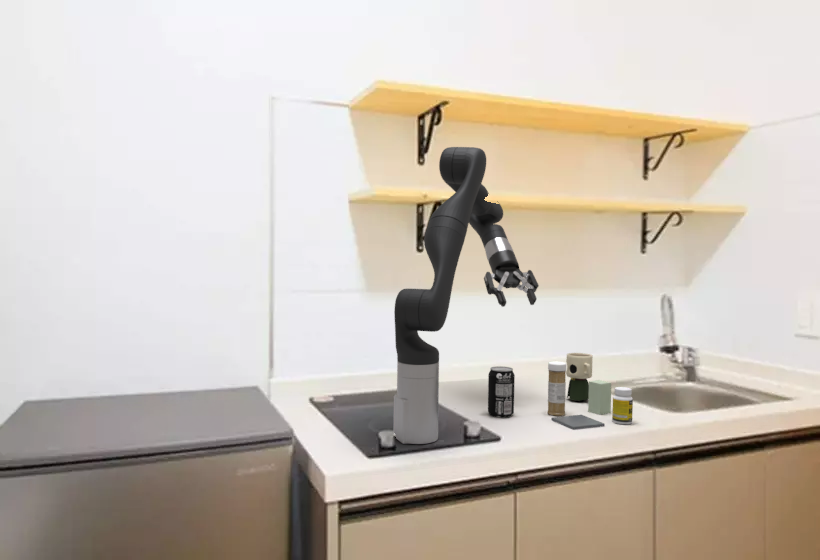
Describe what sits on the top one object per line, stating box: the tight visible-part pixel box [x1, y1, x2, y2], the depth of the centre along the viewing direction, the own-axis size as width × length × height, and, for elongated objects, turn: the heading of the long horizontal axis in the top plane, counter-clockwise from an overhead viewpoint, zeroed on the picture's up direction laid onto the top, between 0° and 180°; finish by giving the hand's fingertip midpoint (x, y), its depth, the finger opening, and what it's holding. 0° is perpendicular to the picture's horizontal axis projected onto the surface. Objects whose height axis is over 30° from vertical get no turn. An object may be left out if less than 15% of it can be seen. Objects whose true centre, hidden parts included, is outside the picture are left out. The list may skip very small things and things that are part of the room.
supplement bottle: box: [611, 386, 634, 425], centre depth 158 cm, size 5×5×8 cm
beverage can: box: [487, 365, 516, 419], centre depth 164 cm, size 7×7×12 cm
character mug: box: [565, 352, 593, 402], centre depth 181 cm, size 11×7×13 cm, turn 14°
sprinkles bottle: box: [547, 360, 567, 417], centre depth 165 cm, size 5×5×14 cm
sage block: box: [587, 379, 612, 416], centre depth 168 cm, size 4×4×8 cm
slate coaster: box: [550, 414, 606, 430], centre depth 157 cm, size 9×9×1 cm
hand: (519, 304), depth 171 cm, fingers open, 8 cm apart
